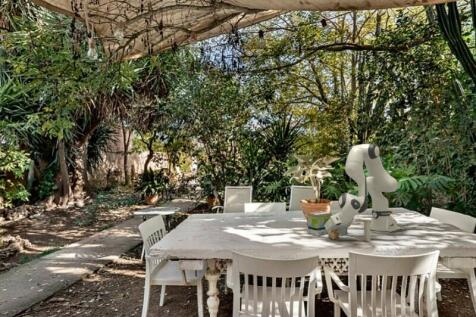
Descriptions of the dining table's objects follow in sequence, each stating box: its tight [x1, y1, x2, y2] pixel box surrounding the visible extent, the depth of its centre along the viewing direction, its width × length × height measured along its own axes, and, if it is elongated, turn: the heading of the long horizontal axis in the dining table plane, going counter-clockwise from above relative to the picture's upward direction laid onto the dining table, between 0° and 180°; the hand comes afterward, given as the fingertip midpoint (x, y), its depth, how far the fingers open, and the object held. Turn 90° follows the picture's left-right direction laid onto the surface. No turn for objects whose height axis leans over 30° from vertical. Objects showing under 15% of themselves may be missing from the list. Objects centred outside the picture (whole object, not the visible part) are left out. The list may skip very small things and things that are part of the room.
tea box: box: [307, 210, 333, 236], centre depth 263 cm, size 15×10×15 cm, turn 126°
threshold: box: [346, 234, 364, 240], centre depth 249 cm, size 2×14×1 cm, turn 27°
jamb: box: [363, 219, 371, 242], centre depth 240 cm, size 3×3×13 cm
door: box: [327, 228, 348, 238], centre depth 254 cm, size 17×3×11 cm, turn 119°
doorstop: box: [328, 229, 340, 240], centre depth 247 cm, size 4×5×8 cm
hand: (333, 230), depth 248 cm, fingers closed on doorstop, 5 cm apart
